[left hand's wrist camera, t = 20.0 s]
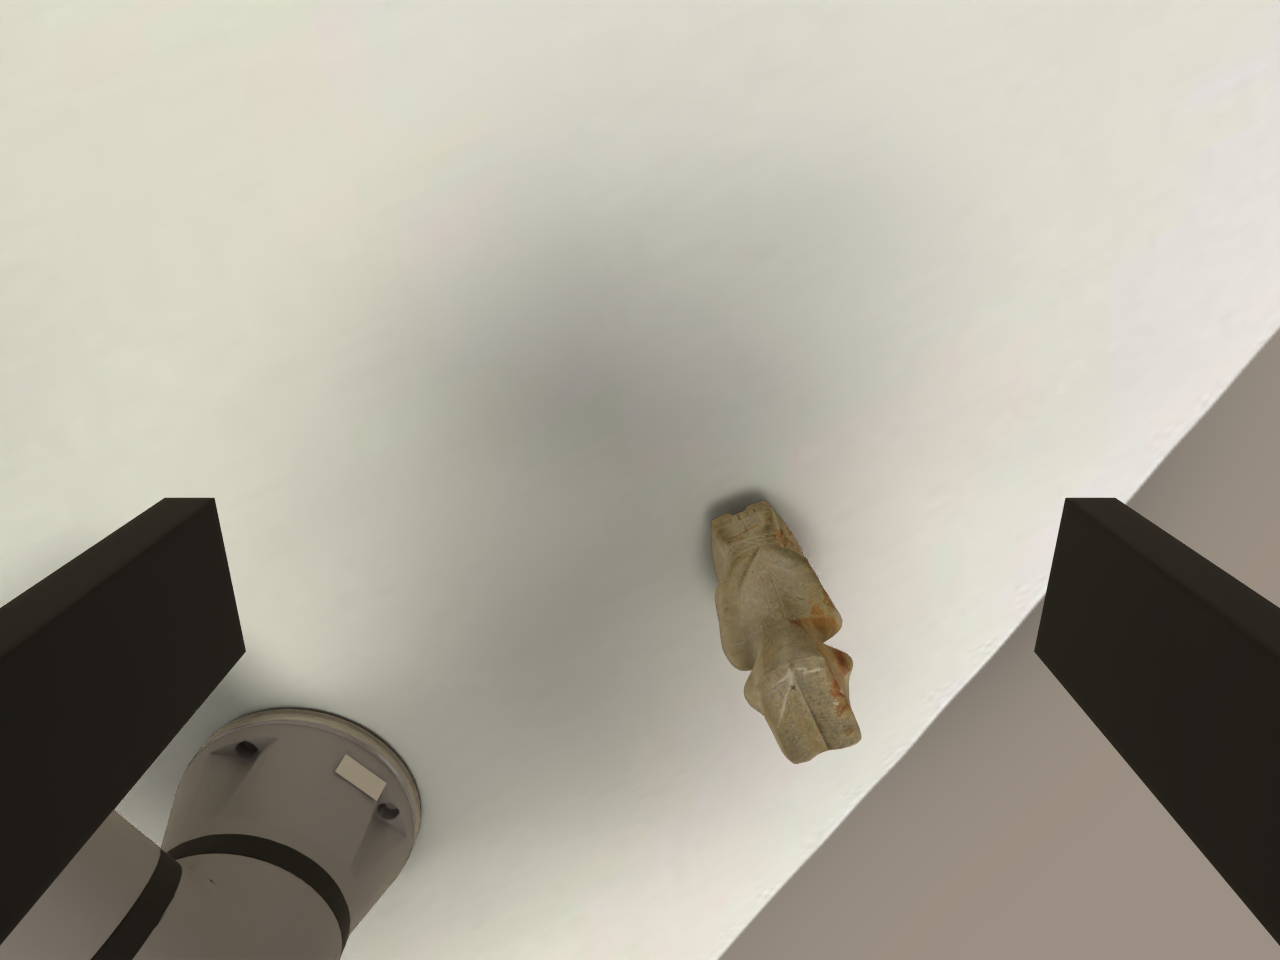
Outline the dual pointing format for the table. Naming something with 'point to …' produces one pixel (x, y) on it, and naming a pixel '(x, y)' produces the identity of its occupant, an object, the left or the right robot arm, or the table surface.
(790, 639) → the sculpture
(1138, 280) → the table surface
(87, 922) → the left robot arm
